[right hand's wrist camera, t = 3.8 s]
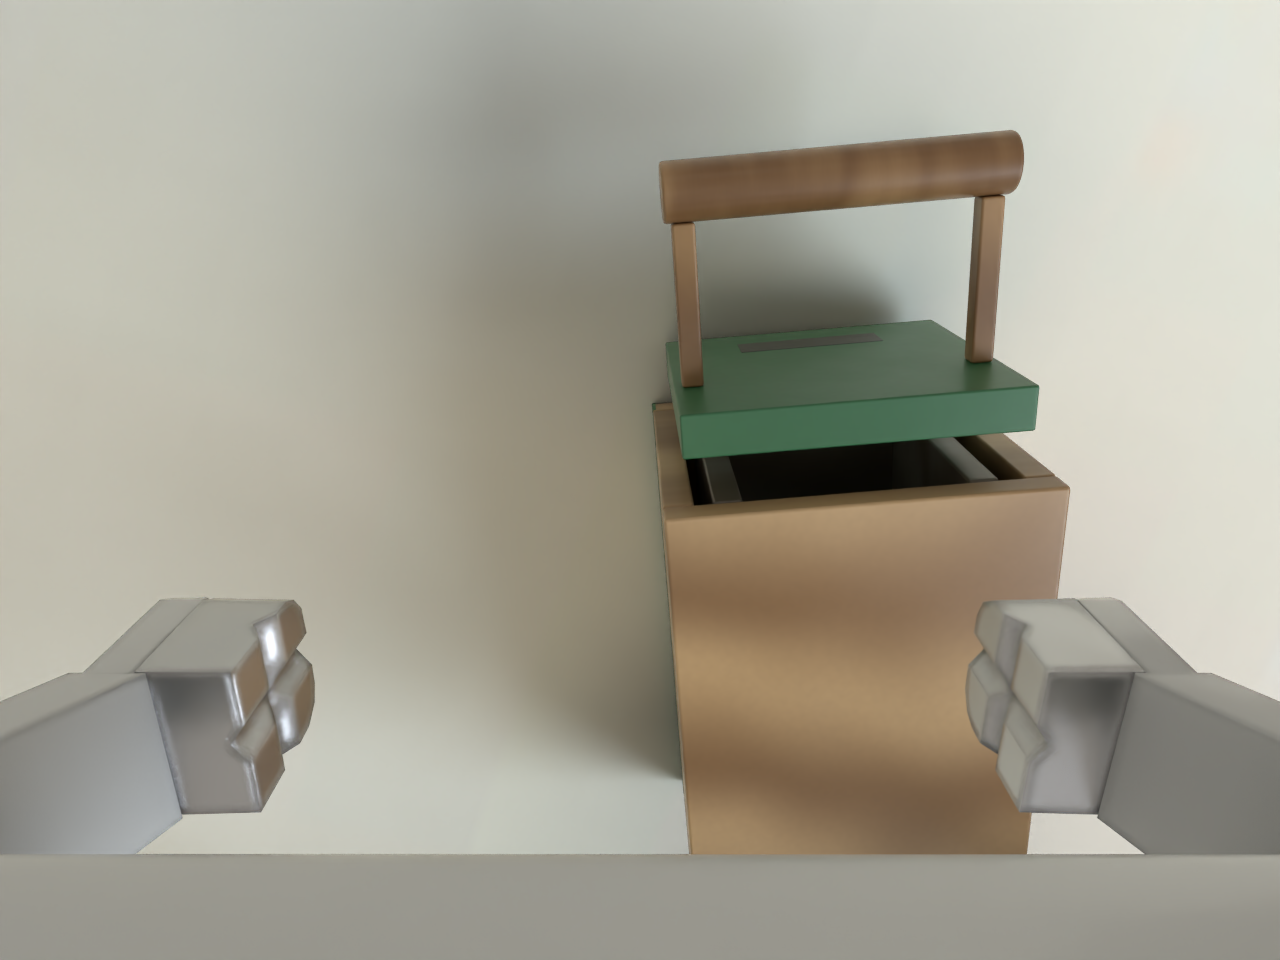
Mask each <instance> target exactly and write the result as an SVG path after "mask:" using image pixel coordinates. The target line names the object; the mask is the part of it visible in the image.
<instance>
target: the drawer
mask: <svg viewBox="0 0 1280 960" xmlns="http://www.w3.org/2000/svg"><path fill="white" fill-rule="evenodd" d="M1023 164H1024V150H1023V143H1022V140H1021V137H1020V135H1019V134H1018V133H1017V132H1016V131H1013V130H1007V131H995V132H984V133H973V134H962V135H951V136H939V137H928V138H917V139H906V140H894V141H883V142H872V143H861V144H849V145H838V146H827V147H816V148H805V149H793V150H782V151H771V152H760V153H748V154H737V155H726V156H715V157H704V158H692V159H681V160H670V161H662V162H660V163H659V183H660V198H661V209H662V218H663V222H664V223H665V224H671V238H672V253H673V268H674V283H675V298H676V313H677V328H678V341H677V342H667V343H666V357H667V370H668V379H669V385H670V390H671V396H672V402H673V408H674V414H675V419H676V425H677V431H678V437H679V442H680V448H681V454H682V458H683V459H695V470H696V486H697V502H698V505H709V504H722V503H734V502H746V501H758V500H770V499H783V498H795V497H807V496H819V495H831V494H843V493H856V492H868V491H880V490H892V489H904V488H917V487H929V486H941V485H953V484H965V483H977V482H990V481H998V478H997V477H996V476H994V475H993V474H992V473H991V472H990V471H989V470H988V469H987V468H986V467H985V466H984V465H983V464H981V463H980V462H979V461H978V460H977V459H976V458H975V457H974V456H973V455H972V454H971V453H970V452H969V451H967V450H966V449H965V448H964V447H963V446H962V445H961V444H960V443H959V442H958V441H957V440H956V439H955V438H953V437H961V436H973V435H985V434H997V433H1009V432H1021V431H1033V430H1035V425H1036V415H1037V405H1038V394H1039V385H1037V384H1035V383H1034V382H1032V381H1031V380H1029V379H1027V378H1026V377H1024V376H1022V375H1021V374H1019V373H1017V372H1016V371H1014V370H1013V369H1011V368H1009V367H1008V366H1006V365H1004V364H1003V363H1001V362H999V361H998V360H996V359H995V358H993V349H994V336H995V323H996V310H997V297H998V284H999V271H1000V258H1001V245H1002V232H1003V219H1004V206H1005V196H1003V194H1010V193H1011V192H1013V191H1014V190H1015V189H1016V188H1017V186H1018V184H1019V182H1020V179H1021V176H1022V171H1023ZM969 197H975V201H974V217H973V233H972V248H971V264H970V280H969V295H968V311H967V327H966V341H965V340H963V339H962V338H960V337H959V336H957V335H955V334H954V333H952V332H950V331H949V330H947V329H945V328H944V327H942V326H940V325H939V324H937V323H936V322H934V321H932V320H923V321H912V322H900V323H888V324H876V325H865V326H853V327H841V328H830V329H818V330H806V331H794V332H783V333H771V334H759V335H748V336H736V337H724V338H712V339H701V324H700V306H699V288H698V271H697V253H696V235H695V224H694V223H693V222H695V221H707V220H718V219H729V218H741V217H752V216H764V215H775V214H786V213H798V212H809V211H820V210H832V209H843V208H855V207H866V206H877V205H889V204H900V203H912V202H923V201H934V200H946V199H957V198H969Z"/></svg>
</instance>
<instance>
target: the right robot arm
mask: <svg viewBox="0 0 1280 960" xmlns="http://www.w3.org/2000/svg"><path fill="white" fill-rule="evenodd" d="M305 634H306V629H305V624H304V619H303V614H302V610H301V608H300V606H299V605H298V604H297V603H296V602H295V601H294V600H273V599H220V598H213V599H209V598H171V599H163V600H159V601H158V602H157V603H156V604H155V605H154V606H153V607H152V608H151V609H150V610H149V611H148V612H147V613H146V614H144V615H143V616H142V617H141V618H140V619H139V620H138V621H137V622H136V623H135V624H134V625H133V626H132V627H131V628H130V629H129V630H128V631H127V632H125V633H124V634H123V635H122V636H121V637H120V638H119V639H118V640H117V641H116V642H115V643H114V644H113V645H112V646H111V647H110V648H109V649H107V650H106V651H105V652H104V653H103V654H102V655H101V656H100V657H99V658H98V659H97V660H96V661H95V662H94V663H93V664H92V665H91V666H90V667H88V668H87V669H86V670H85V671H84V672H83V673H68V674H65V675H63V676H60V677H58V678H56V679H53V680H51V681H48V682H46V683H44V684H41V685H39V686H36V687H34V688H32V689H29V690H27V691H25V692H22V693H20V694H17V695H15V696H13V697H10V698H8V699H5V700H3V701H1V702H0V960H1280V702H1279V701H1277V700H1274V699H1272V698H1270V697H1267V696H1265V695H1263V694H1260V693H1258V692H1255V691H1253V690H1251V689H1248V688H1246V687H1243V686H1241V685H1239V684H1236V683H1234V682H1232V681H1229V680H1227V679H1224V678H1222V677H1220V676H1217V675H1215V674H1212V673H1197V672H1196V671H1195V670H1194V669H1193V668H1192V667H1191V666H1190V665H1188V664H1187V663H1186V662H1185V661H1184V660H1183V659H1182V658H1181V657H1180V656H1179V655H1178V654H1177V653H1176V652H1175V651H1174V650H1173V649H1172V648H1171V647H1169V646H1168V645H1167V644H1166V643H1165V642H1164V641H1163V640H1162V639H1161V638H1160V637H1159V636H1158V635H1157V634H1156V633H1155V632H1154V631H1153V630H1152V629H1151V628H1149V627H1148V626H1147V625H1146V624H1145V623H1144V622H1143V621H1142V620H1141V619H1140V618H1139V617H1138V616H1137V615H1136V614H1135V613H1134V612H1133V611H1132V610H1131V609H1129V608H1128V607H1127V606H1126V605H1125V604H1124V603H1123V602H1122V601H1120V600H1117V599H1114V598H1111V597H1105V598H1082V599H1075V598H1072V599H1031V600H993V601H985V602H983V603H982V605H981V607H980V609H979V611H978V613H977V617H976V623H975V628H974V634H975V636H976V637H977V639H978V640H979V642H980V643H981V645H982V646H983V648H984V649H983V650H982V651H981V652H980V653H979V654H978V655H977V656H976V657H975V658H974V659H973V660H972V661H971V662H970V663H969V664H968V670H967V677H966V685H965V695H966V707H967V714H968V717H969V720H970V723H971V727H972V729H973V731H974V733H975V735H976V737H977V739H978V740H979V742H980V743H981V744H982V745H984V746H985V747H987V748H988V749H990V750H992V751H993V752H995V753H996V754H998V756H997V762H996V767H995V771H996V773H997V774H998V776H999V778H1000V779H1001V781H1002V783H1003V785H1004V786H1005V788H1006V790H1007V792H1008V793H1009V795H1010V797H1011V799H1012V800H1013V802H1014V804H1015V806H1016V807H1017V809H1018V811H1019V812H1026V813H1063V814H1098V817H1097V818H1098V819H1100V820H1101V821H1102V822H1103V823H1105V824H1106V825H1107V826H1109V827H1110V828H1111V829H1113V830H1114V831H1115V832H1117V833H1118V834H1119V835H1121V836H1122V837H1123V838H1125V839H1126V840H1127V841H1128V842H1130V843H1131V844H1132V845H1134V846H1135V847H1136V848H1138V849H1139V850H1140V851H1142V852H1143V853H1144V854H136V853H137V852H139V851H140V850H141V849H143V848H144V847H145V846H147V845H148V844H149V843H151V842H152V841H153V840H154V839H156V838H157V837H158V836H160V835H161V834H162V833H164V832H165V831H166V830H168V829H169V828H170V827H172V826H173V825H174V824H176V823H177V822H178V821H179V820H181V819H182V814H215V813H251V812H261V811H262V809H263V808H264V806H265V804H266V802H267V801H268V799H269V797H270V795H271V794H272V792H273V790H274V788H275V787H276V785H277V783H278V781H279V780H280V778H281V776H282V774H283V773H284V771H285V767H284V762H283V756H282V754H284V753H285V752H287V751H288V750H290V749H292V748H293V747H295V746H296V745H298V744H299V743H300V742H301V740H302V738H303V737H304V735H305V733H306V731H307V729H308V727H309V724H310V720H311V716H312V711H313V707H314V703H315V682H314V675H313V669H312V664H311V663H310V662H309V661H308V660H307V659H306V658H305V657H304V656H303V655H302V654H301V653H300V652H299V651H298V650H297V649H296V648H297V646H298V645H299V643H300V642H301V640H302V639H303V637H304V636H305Z"/></svg>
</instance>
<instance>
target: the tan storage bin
mask: <svg viewBox="0 0 1280 960" xmlns="http://www.w3.org/2000/svg"><path fill="white" fill-rule="evenodd" d="M652 409H653V422H654V434H655V446H656V459H657V471H658V483H659V496H660V508H661V521H662V533H663V545H664V558H665V570H666V582H667V595H668V607H669V620H670V632H671V644H672V657H673V669H674V681H675V694H676V706H677V718H678V731H679V743H680V756H681V768H682V780H683V792H684V800H685V812H686V823H687V834H688V846H689V854H1027V847H1028V839H1029V831H1030V822H1031V814H1032V813H1026V812H1019V811H1018V809H1017V807H1016V806H1015V804H1014V802H1013V800H1012V799H1011V797H1010V795H1009V793H1008V792H1007V790H1006V788H1005V786H1004V785H1003V783H1002V781H1001V779H1000V778H999V776H998V774H997V773H996V771H995V767H996V762H997V756H998V754H996V753H995V752H993V751H992V750H990V749H988V748H987V747H985V746H984V745H982V744H981V743H980V742H979V740H978V739H977V737H976V735H975V733H974V731H973V729H972V727H971V723H970V720H969V717H968V714H967V707H966V695H965V685H966V677H967V670H968V664H969V663H970V662H971V661H972V660H973V659H974V658H975V657H976V656H977V655H978V654H979V653H980V652H981V651H982V650H983V649H984V648H983V646H982V645H981V643H980V642H979V640H978V639H977V637H976V636H975V634H974V628H975V623H976V617H977V613H978V611H979V609H980V607H981V605H982V603H983V602H985V601H993V600H1031V599H1057V596H1058V587H1059V579H1060V570H1061V562H1062V554H1063V545H1064V537H1065V528H1066V520H1067V512H1068V503H1069V495H1070V488H1069V486H1068V485H1067V484H1065V483H1064V482H1063V481H1061V480H1060V479H1059V478H1058V477H1055V474H1053V473H1052V472H1051V471H1050V470H1048V469H1047V468H1046V467H1045V466H1043V465H1042V464H1041V463H1040V462H1038V461H1037V460H1036V459H1035V458H1033V457H1032V456H1031V455H1030V454H1028V453H1027V452H1026V451H1024V450H1023V449H1022V448H1021V447H1019V446H1018V445H1017V444H1016V443H1014V442H1013V441H1012V440H1011V439H1009V438H1008V437H1007V436H1006V435H1004V434H1003V433H997V434H985V435H973V436H961V437H953V438H955V439H956V440H957V441H958V442H959V443H960V444H961V445H962V446H963V447H964V448H965V449H966V450H967V451H969V452H970V453H971V454H972V455H973V456H974V457H975V458H976V459H977V460H978V461H979V462H980V463H981V464H983V465H984V466H985V467H986V468H987V469H988V470H989V471H990V472H991V473H992V474H993V475H994V476H996V477H997V478H998V481H990V482H977V483H965V484H953V485H941V486H929V487H917V488H904V489H892V490H880V491H868V492H856V493H843V494H831V495H819V496H807V497H795V498H783V499H770V500H758V501H746V502H734V503H722V504H709V505H698V502H697V486H696V470H695V459H683V458H682V454H681V448H680V442H679V437H678V431H677V425H676V419H675V414H674V408H673V403H663V404H652Z"/></svg>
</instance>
